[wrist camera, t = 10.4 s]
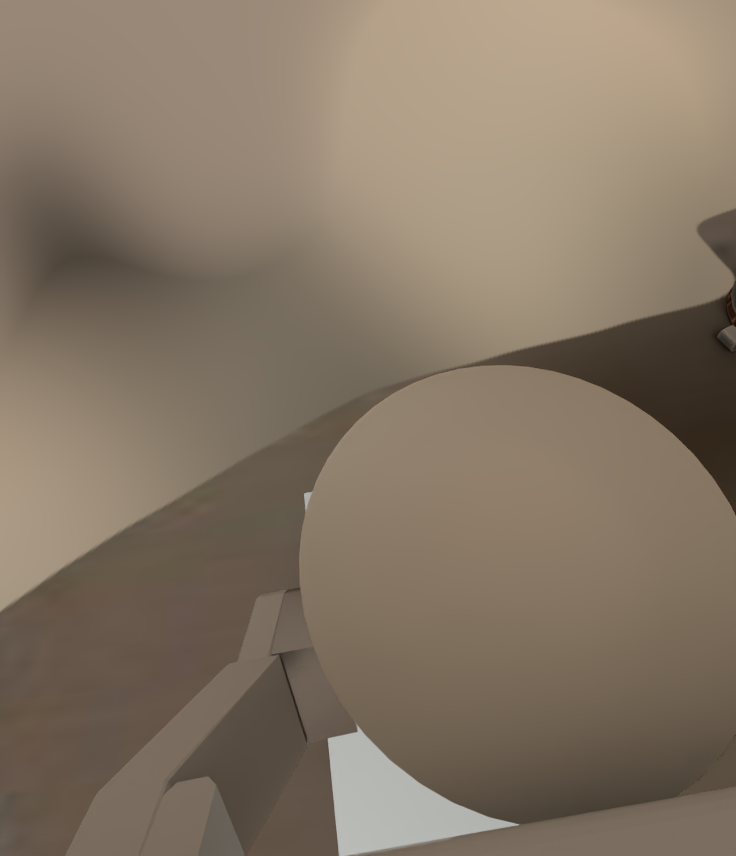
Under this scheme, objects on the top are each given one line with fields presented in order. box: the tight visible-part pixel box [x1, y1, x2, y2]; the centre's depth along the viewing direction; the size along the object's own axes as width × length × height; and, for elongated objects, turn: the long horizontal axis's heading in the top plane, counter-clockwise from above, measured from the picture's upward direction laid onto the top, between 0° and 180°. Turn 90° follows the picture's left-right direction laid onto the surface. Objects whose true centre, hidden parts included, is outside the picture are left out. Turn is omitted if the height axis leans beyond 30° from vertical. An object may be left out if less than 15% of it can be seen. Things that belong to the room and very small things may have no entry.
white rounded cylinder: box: [299, 365, 736, 825], centre depth 9 cm, size 5×5×9 cm
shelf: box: [304, 492, 519, 856], centre depth 27 cm, size 20×14×4 cm
